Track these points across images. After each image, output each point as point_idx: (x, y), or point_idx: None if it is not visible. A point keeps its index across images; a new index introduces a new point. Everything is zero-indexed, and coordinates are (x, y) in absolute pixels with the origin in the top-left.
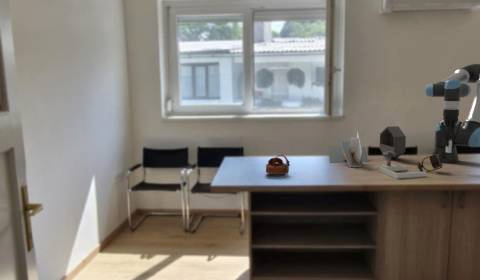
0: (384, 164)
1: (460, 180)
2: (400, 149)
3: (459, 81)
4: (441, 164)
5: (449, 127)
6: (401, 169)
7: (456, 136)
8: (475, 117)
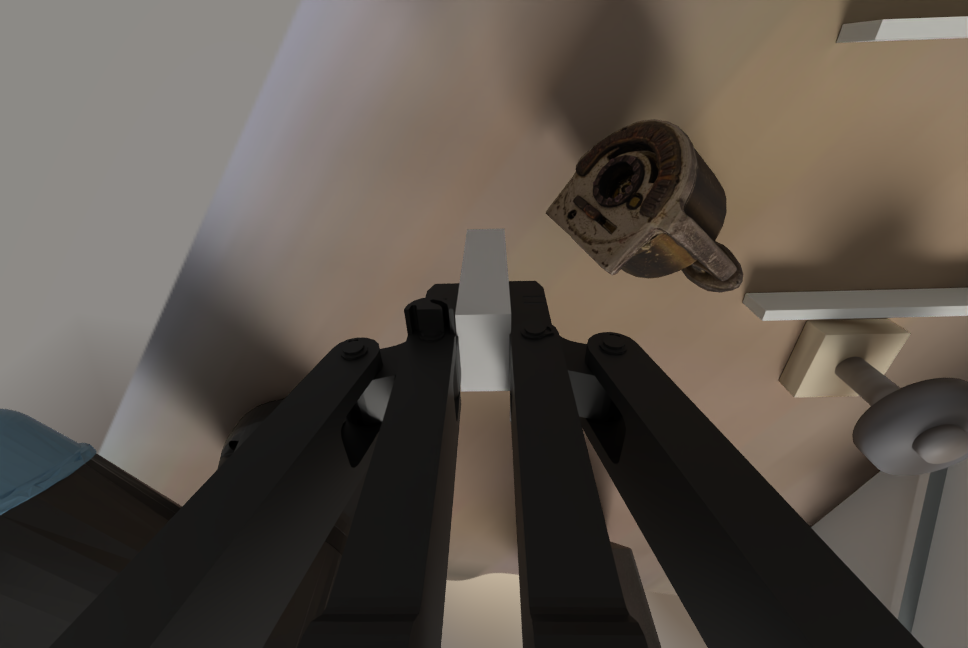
0: (845, 395)
1: None
2: None
3: None
4: (634, 124)
5: (622, 645)
6: (806, 295)
7: (328, 377)
8: None
